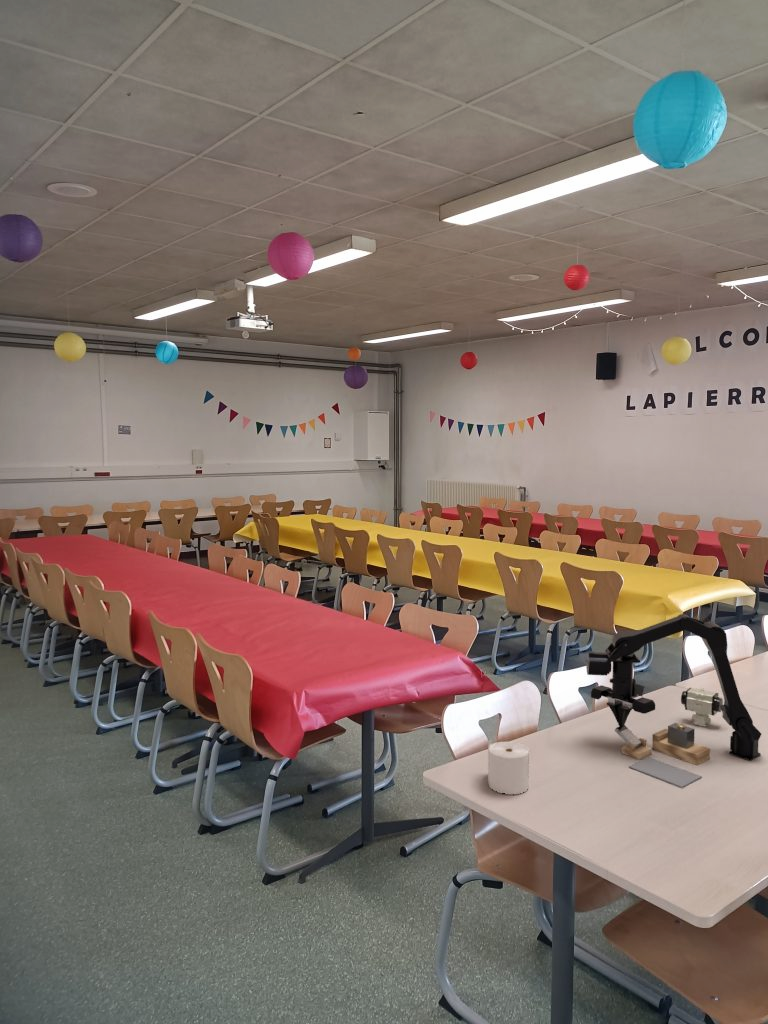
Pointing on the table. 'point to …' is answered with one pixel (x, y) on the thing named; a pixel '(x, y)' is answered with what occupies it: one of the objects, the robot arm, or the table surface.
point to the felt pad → (665, 772)
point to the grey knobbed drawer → (681, 735)
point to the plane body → (679, 749)
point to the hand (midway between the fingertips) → (621, 726)
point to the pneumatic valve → (701, 705)
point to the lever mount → (637, 750)
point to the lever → (628, 736)
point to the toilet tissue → (508, 767)
